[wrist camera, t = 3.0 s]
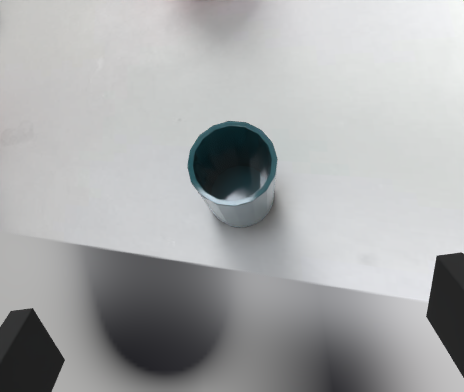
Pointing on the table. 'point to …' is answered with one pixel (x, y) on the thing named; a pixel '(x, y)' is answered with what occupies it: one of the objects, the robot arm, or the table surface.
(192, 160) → the cup
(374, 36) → the table surface
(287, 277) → the table surface
